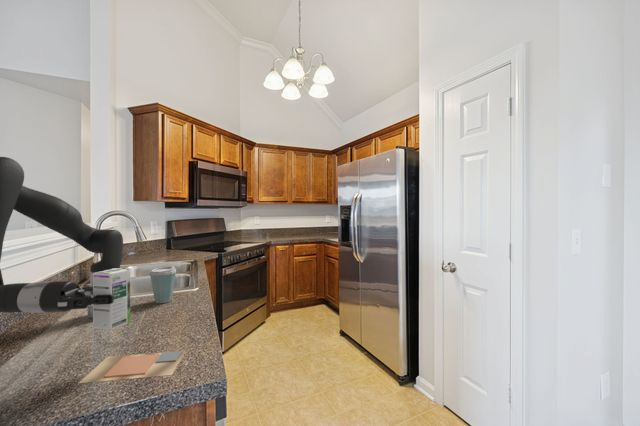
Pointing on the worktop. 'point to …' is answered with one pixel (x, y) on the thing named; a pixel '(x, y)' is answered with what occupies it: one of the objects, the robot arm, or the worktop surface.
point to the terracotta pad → (132, 365)
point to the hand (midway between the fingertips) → (121, 294)
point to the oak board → (153, 371)
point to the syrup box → (118, 286)
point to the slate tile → (169, 356)
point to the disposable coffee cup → (163, 283)
